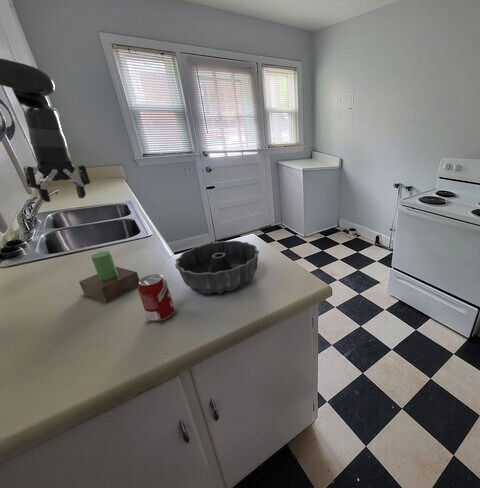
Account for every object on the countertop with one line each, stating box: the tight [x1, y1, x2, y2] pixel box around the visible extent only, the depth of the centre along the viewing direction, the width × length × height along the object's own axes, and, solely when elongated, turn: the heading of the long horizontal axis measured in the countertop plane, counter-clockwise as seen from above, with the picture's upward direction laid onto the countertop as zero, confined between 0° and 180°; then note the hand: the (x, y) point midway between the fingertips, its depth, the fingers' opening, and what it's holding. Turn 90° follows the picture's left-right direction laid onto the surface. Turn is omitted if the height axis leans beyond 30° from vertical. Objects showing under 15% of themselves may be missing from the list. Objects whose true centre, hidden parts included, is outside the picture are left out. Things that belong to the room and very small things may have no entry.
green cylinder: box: [90, 250, 118, 280], centre depth 86 cm, size 5×5×8 cm
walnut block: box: [78, 266, 140, 303], centre depth 89 cm, size 11×11×5 cm
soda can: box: [137, 273, 175, 322], centre depth 75 cm, size 7×7×12 cm
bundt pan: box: [174, 240, 260, 295], centre depth 93 cm, size 26×26×10 cm
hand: (65, 199), depth 86 cm, fingers open, 8 cm apart
